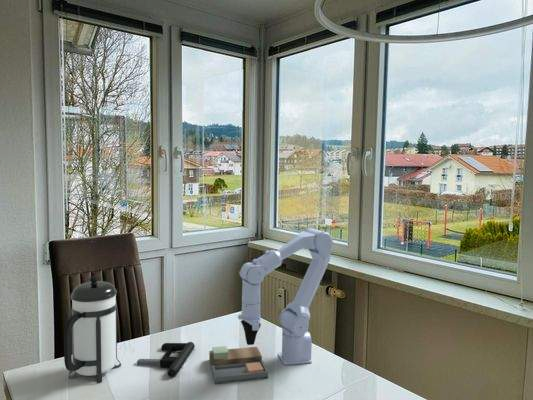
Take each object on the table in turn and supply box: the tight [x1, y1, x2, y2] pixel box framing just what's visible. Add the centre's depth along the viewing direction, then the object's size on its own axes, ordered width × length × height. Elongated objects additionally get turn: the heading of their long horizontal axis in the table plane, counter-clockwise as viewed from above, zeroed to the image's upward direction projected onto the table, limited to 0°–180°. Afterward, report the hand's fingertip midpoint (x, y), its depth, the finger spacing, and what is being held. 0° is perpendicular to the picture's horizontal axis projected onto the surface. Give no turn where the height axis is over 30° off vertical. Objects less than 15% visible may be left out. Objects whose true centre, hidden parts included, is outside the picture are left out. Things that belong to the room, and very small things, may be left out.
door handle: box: [136, 341, 196, 378], centre depth 133 cm, size 3×20×16 cm
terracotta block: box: [246, 362, 263, 373], centre depth 125 cm, size 4×4×2 cm
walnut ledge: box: [208, 346, 263, 370], centre depth 132 cm, size 16×7×3 cm, turn 104°
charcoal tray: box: [211, 359, 269, 385], centre depth 125 cm, size 16×8×2 cm, turn 104°
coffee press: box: [63, 275, 122, 383], centre depth 122 cm, size 17×16×30 cm
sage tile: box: [211, 345, 228, 360], centre depth 131 cm, size 4×4×2 cm
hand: (250, 343), depth 128 cm, fingers closed
